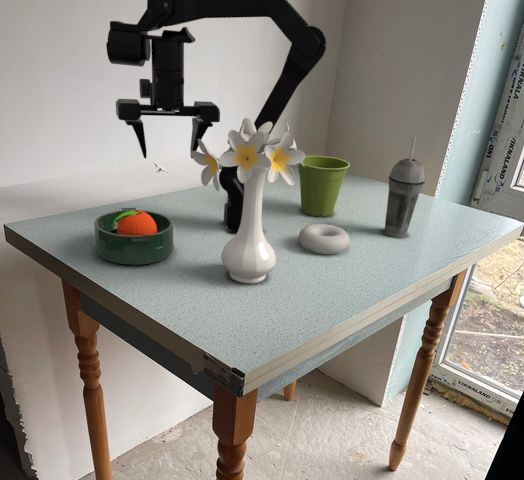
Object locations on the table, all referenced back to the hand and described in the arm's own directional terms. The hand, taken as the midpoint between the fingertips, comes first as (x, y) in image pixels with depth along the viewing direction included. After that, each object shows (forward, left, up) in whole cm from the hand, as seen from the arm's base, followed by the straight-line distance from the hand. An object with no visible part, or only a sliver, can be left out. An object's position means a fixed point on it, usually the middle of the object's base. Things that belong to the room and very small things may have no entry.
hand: (168, 157), depth 109 cm
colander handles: (+9, +16, -8) cm, 20 cm away
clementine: (+9, +16, -12) cm, 22 cm away
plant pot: (-34, -2, -13) cm, 36 cm away
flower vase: (-8, +30, -13) cm, 33 cm away
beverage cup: (-46, +13, -13) cm, 50 cm away
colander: (+9, +16, -12) cm, 22 cm away
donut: (-27, +18, -13) cm, 35 cm away
